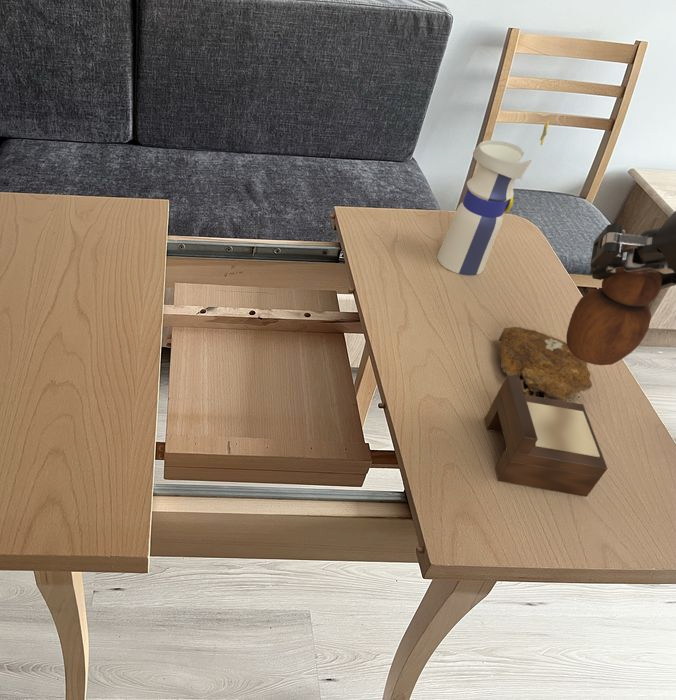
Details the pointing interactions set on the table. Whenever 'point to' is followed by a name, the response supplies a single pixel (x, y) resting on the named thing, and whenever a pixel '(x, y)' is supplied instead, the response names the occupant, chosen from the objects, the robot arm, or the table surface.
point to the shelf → (544, 441)
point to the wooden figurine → (612, 318)
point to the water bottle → (483, 206)
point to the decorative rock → (542, 364)
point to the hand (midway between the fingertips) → (625, 274)
